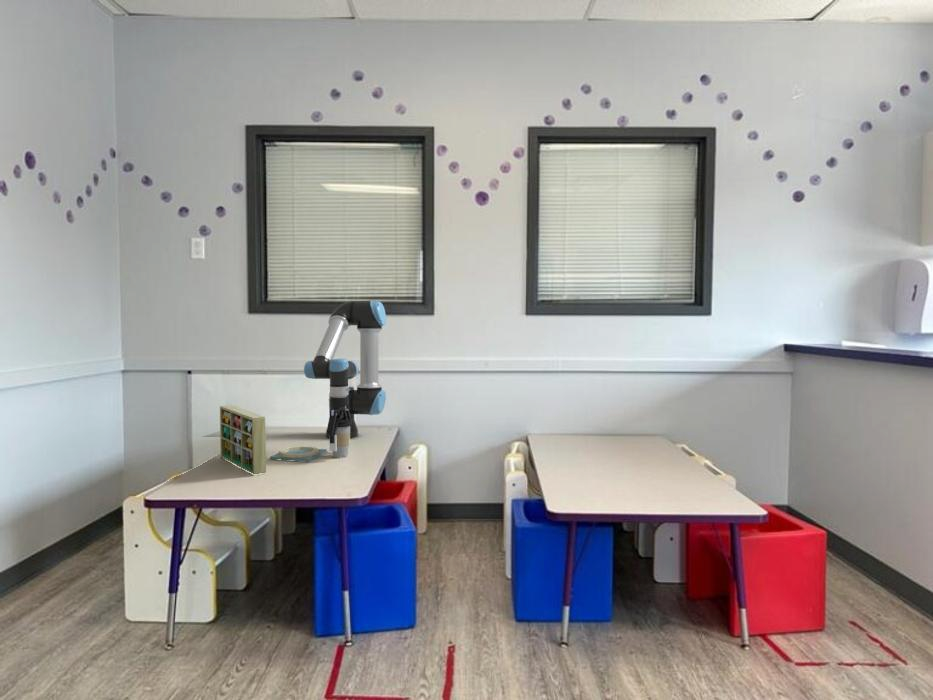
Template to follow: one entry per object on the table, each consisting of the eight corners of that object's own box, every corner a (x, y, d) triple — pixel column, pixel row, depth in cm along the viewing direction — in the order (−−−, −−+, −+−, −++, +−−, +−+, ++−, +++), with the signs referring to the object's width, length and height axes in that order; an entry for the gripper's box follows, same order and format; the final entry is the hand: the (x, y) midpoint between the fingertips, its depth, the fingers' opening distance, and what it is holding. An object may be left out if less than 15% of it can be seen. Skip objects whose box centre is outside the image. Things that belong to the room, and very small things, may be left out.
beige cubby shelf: (220, 458, 242) (219, 406, 241) (232, 456, 245) (230, 404, 244) (254, 476, 216) (252, 417, 215) (266, 474, 219) (265, 416, 218)
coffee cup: (346, 459, 240) (345, 422, 239) (324, 458, 242) (324, 422, 241) (355, 454, 249) (354, 418, 248) (334, 452, 251) (333, 417, 250)
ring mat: (290, 450, 256) (290, 444, 256) (327, 452, 253) (326, 446, 253) (269, 459, 240) (269, 453, 240) (308, 462, 236) (308, 456, 236)
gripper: (334, 401, 231) (335, 454, 232) (359, 392, 255) (360, 441, 257) (317, 400, 232) (318, 453, 234) (343, 391, 257) (344, 440, 258)
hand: (340, 447), depth 245 cm, fingers open, 13 cm apart
